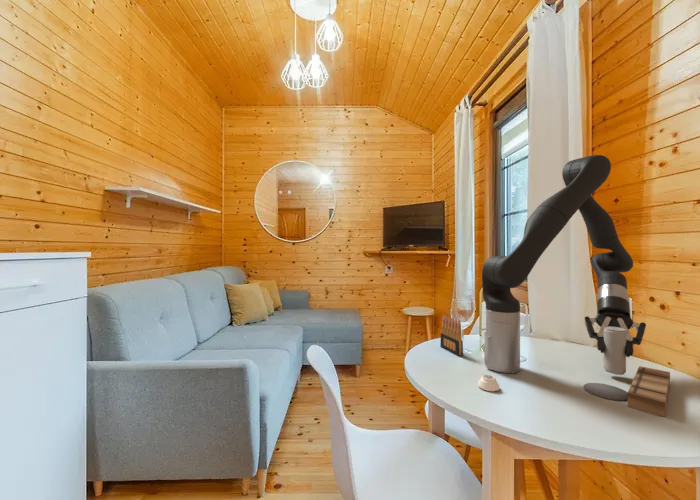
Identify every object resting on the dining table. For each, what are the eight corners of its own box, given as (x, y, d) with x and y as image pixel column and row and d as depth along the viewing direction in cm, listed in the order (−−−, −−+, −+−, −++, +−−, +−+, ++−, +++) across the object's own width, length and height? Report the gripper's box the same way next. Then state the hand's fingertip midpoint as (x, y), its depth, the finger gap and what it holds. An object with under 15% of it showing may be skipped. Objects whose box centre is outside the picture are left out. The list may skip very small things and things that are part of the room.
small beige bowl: (481, 382, 85) (475, 388, 81) (481, 371, 85) (475, 377, 81) (501, 387, 82) (496, 394, 78) (501, 376, 82) (496, 382, 78)
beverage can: (598, 368, 90) (599, 326, 90) (614, 368, 90) (614, 326, 90) (614, 375, 85) (614, 330, 85) (631, 375, 86) (631, 330, 85)
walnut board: (664, 416, 67) (664, 402, 67) (627, 406, 72) (627, 392, 72) (669, 383, 84) (670, 371, 84) (639, 376, 88) (639, 365, 88)
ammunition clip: (463, 356, 105) (463, 319, 105) (458, 356, 105) (458, 320, 105) (444, 346, 116) (444, 313, 115) (440, 346, 115) (440, 313, 115)
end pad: (594, 398, 76) (594, 396, 76) (577, 382, 84) (577, 381, 84) (639, 402, 73) (639, 401, 73) (617, 386, 82) (617, 384, 82)
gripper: (583, 292, 98) (582, 341, 88) (646, 297, 89) (653, 351, 80) (583, 307, 102) (582, 355, 93) (643, 313, 94) (649, 366, 84)
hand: (615, 353), depth 86 cm, fingers closed on beverage can, 4 cm apart
